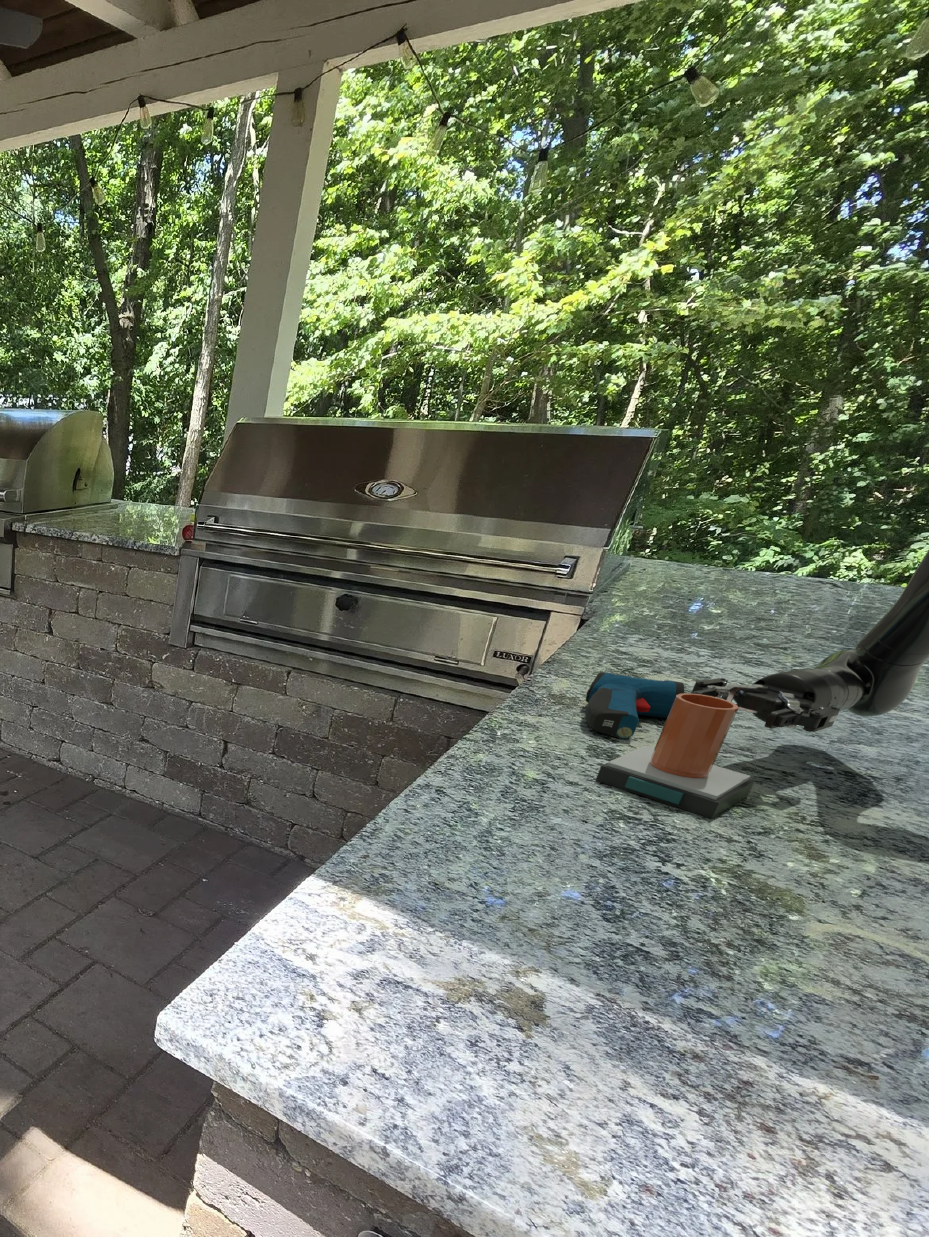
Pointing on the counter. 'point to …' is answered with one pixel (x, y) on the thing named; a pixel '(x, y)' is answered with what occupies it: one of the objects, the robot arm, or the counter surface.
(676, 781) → the scale
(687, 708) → the cup
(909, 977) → the counter surface
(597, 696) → the infrared thermometer
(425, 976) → the counter surface
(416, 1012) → the counter surface
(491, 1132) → the counter surface
